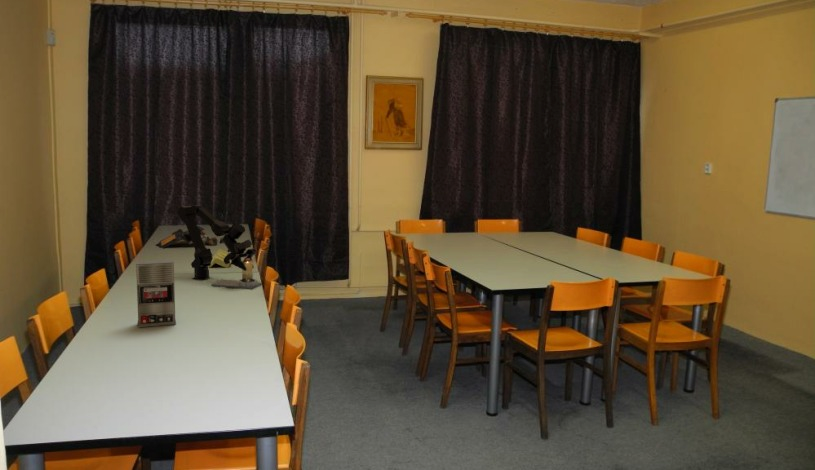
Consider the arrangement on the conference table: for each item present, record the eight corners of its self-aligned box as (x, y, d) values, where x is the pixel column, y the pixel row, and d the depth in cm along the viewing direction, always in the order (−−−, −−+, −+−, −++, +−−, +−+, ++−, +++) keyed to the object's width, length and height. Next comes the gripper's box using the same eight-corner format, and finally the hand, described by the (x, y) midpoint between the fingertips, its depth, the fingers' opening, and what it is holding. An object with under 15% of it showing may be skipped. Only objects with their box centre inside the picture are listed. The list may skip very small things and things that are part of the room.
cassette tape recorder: (138, 328, 244) (135, 265, 240) (137, 323, 250) (135, 261, 246) (175, 325, 250) (174, 263, 246) (174, 320, 255) (173, 260, 251)
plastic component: (230, 264, 356) (213, 256, 354) (224, 275, 357) (207, 268, 355) (233, 254, 375) (217, 247, 373) (227, 265, 376) (211, 258, 373)
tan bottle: (241, 283, 312) (241, 259, 310) (243, 281, 317) (243, 257, 315) (251, 284, 313) (251, 259, 311) (253, 281, 318) (253, 257, 316)
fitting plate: (211, 286, 313) (210, 280, 313) (221, 281, 324) (221, 275, 324) (252, 289, 309) (252, 283, 309) (261, 284, 320) (261, 278, 319)
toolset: (162, 249, 401) (149, 220, 414) (162, 269, 414) (149, 240, 427) (223, 235, 423) (209, 208, 436) (221, 255, 436) (207, 228, 450)
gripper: (227, 237, 305) (245, 262, 302) (253, 232, 321) (270, 256, 318) (215, 251, 310) (233, 276, 306) (241, 246, 326) (258, 269, 323)
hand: (249, 269), depth 313 cm, fingers closed on tan bottle, 5 cm apart
